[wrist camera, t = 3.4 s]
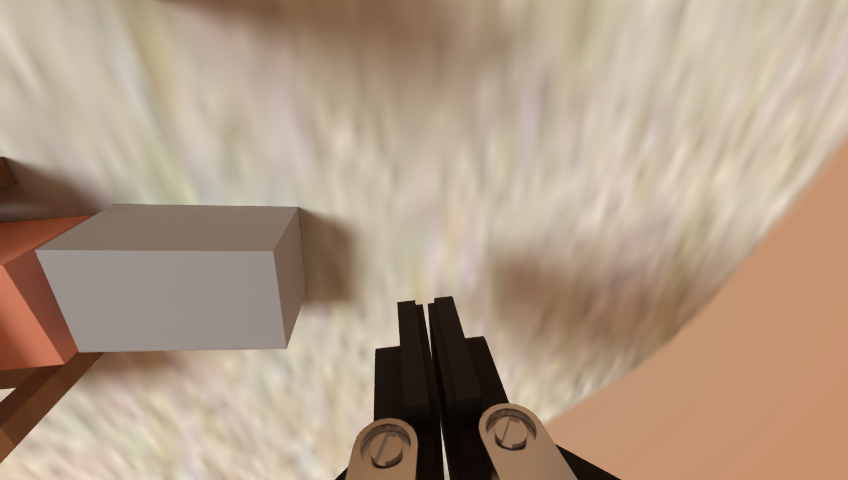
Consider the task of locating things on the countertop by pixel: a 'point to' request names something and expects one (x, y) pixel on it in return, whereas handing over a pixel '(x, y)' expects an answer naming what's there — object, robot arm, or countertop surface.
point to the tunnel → (33, 382)
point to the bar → (179, 277)
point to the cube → (31, 297)
